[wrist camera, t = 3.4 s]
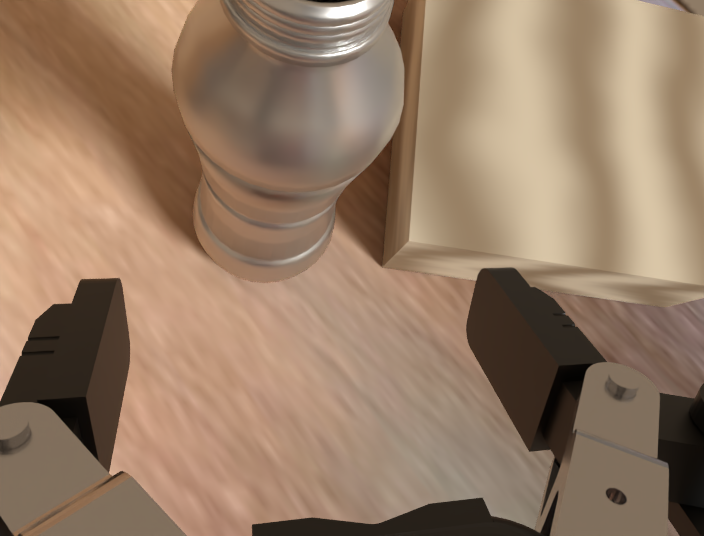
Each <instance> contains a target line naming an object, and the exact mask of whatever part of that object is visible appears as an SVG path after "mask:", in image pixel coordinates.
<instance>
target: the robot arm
mask: <svg viewBox="0 0 704 536" xmlns="http://www.w3.org/2000/svg"><path fill="white" fill-rule="evenodd" d="M466 331H467V339H468V343H469V346H470V348H471V350H472V352H473V353H474V355H475V357H476V359H477V360H478V362H479V364H480V366H481V367H482V369H483V371H484V373H485V374H486V376H487V378H488V380H489V382H490V383H491V385H492V387H493V389H494V390H495V392H496V394H497V396H498V397H499V399H500V401H501V403H502V404H503V406H504V408H505V410H506V411H507V413H508V415H509V417H510V418H511V420H512V422H513V424H514V425H515V427H516V429H517V431H518V433H519V434H520V436H521V438H522V440H523V441H524V443H525V445H526V447H527V448H528V450H529V452H530V451H540V450H550V449H551V451H552V452H553V454H554V458H553V461H552V463H551V466H550V470H549V474H548V478H547V482H546V486H545V490H544V494H543V498H542V502H541V506H540V510H539V514H538V518H537V522H536V526H535V530H533V529H531V528H529V527H527V526H524V525H522V524H519V523H516V522H513V521H511V520H507V519H503V518H498V517H493V516H491V515H490V513H489V511H488V509H487V506H486V504H485V502H484V500H483V498H476V499H467V500H459V501H450V502H441V503H433V504H428V505H425V506H423V507H420V508H418V509H415V510H413V511H410V512H408V513H405V514H402V515H400V516H397V517H395V518H392V519H390V520H387V521H384V522H382V523H379V524H364V523H355V522H346V521H338V520H329V519H320V518H305V519H296V520H288V521H279V522H271V523H262V524H253V525H252V536H668V519H669V520H670V522H671V523H672V525H673V526H674V528H675V529H676V531H677V532H678V534H679V535H680V536H704V384H703V385H702V386H701V387H700V389H699V391H698V393H697V395H696V397H695V399H693V398H687V397H681V396H675V395H669V394H663V393H659V392H658V389H657V388H656V386H655V385H654V384H653V383H652V382H651V381H650V380H649V379H648V378H647V377H646V376H644V375H643V374H641V373H640V372H638V371H636V370H634V369H632V368H630V367H627V366H625V365H621V364H617V363H610V362H607V361H606V360H605V359H604V358H603V357H602V355H601V354H600V353H599V352H598V351H597V349H596V348H595V347H594V346H593V345H592V344H591V342H590V341H589V340H588V339H587V338H586V336H585V335H584V334H583V333H582V332H581V331H580V329H579V328H578V327H575V324H574V322H573V321H572V320H571V319H570V318H569V316H566V315H565V312H564V311H563V309H562V308H561V307H560V306H559V305H558V303H557V302H556V301H555V300H554V299H553V298H551V297H550V296H548V295H547V294H545V293H544V292H542V291H541V290H539V289H538V288H536V287H530V285H529V284H528V283H527V282H526V280H525V279H524V278H523V277H522V276H521V274H520V273H519V272H518V271H517V270H516V269H515V268H513V267H505V268H483V269H481V270H480V272H479V273H478V276H477V280H476V284H475V288H474V293H473V297H472V302H471V306H470V310H469V315H468V319H467V326H466ZM129 363H130V339H129V331H128V324H127V317H126V310H125V303H124V295H123V288H122V283H121V280H120V279H119V278H110V279H82V280H81V281H80V282H79V285H78V288H77V290H76V293H75V296H74V299H73V301H72V304H53V305H52V306H51V307H50V308H49V309H48V310H47V311H45V312H44V313H43V314H42V315H41V316H40V317H39V318H37V319H36V320H35V323H34V325H33V327H32V330H31V332H30V334H29V337H28V341H26V343H25V346H24V348H23V350H22V356H20V357H19V360H18V362H17V364H16V366H15V369H14V371H13V373H12V376H11V378H10V380H9V383H8V385H7V387H6V390H5V392H4V394H3V396H2V399H1V401H0V536H186V535H185V533H184V532H183V531H182V530H181V529H180V528H179V527H178V526H177V525H176V524H175V523H174V522H173V520H172V519H171V518H170V517H169V516H168V515H167V514H166V513H165V512H164V511H163V510H162V509H161V507H160V506H159V505H158V504H157V503H156V502H155V501H154V500H153V499H152V498H151V497H150V496H149V495H148V493H147V492H146V491H145V490H144V489H143V488H142V487H141V486H140V485H139V484H138V483H137V482H136V480H135V479H134V478H133V477H132V476H130V475H129V474H128V473H126V472H123V471H120V472H119V473H117V474H115V475H114V476H112V475H110V474H109V470H110V465H111V459H112V454H113V449H114V443H115V438H116V433H117V428H118V422H119V417H120V412H121V407H122V401H123V396H124V391H125V385H126V380H127V375H128V370H129Z"/></svg>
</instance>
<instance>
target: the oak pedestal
mask: <svg viewBox="0 0 704 536" xmlns="http://www.w3.org/2000/svg"><path fill="white" fill-rule="evenodd" d="M400 49H401V54H402V59H403V63H404V105H403V109H402V113H401V117H400V122H399V124H398V126H397V128H396V130H395V132H394V134H393V140H392V152H391V164H390V177H389V189H388V201H387V214H386V226H385V238H384V250H383V263H382V267H384V268H391V269H398V270H405V271H412V272H419V273H426V274H433V275H440V276H447V277H454V278H461V279H468V280H475V281H476V280H477V276H478V273H479V272H480V270H481V269H483V268H505V267H513V268H515V269H516V270H517V271H518V272H519V273H520V274H521V276H522V277H523V278H524V279H525V280H526V282H527V283H528V284H529V285H530V287H536V288H538V289H539V290H545V291H552V292H559V293H566V294H573V295H581V296H588V297H595V298H602V299H609V300H616V301H623V302H630V303H637V304H644V305H651V306H658V307H669V306H673V305H677V304H681V303H685V302H689V301H693V300H697V299H701V298H704V16H700V15H696V14H692V13H688V12H684V11H679V10H675V9H671V8H667V7H663V6H658V5H654V4H650V3H646V2H641V1H637V0H408V2H407V4H406V7H405V9H404V11H403V17H402V29H401V41H400Z"/></svg>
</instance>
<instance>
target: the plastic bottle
mask: <svg viewBox="0 0 704 536" xmlns="http://www.w3.org/2000/svg"><path fill="white" fill-rule="evenodd" d="M393 4H394V0H198V1H197V3H196V4H195V6H194V7H193V9H192V10H191V11H190V13H189V14H188V16H187V19H186V21H185V24H184V26H183V29H182V31H181V34H180V36H179V39H178V41H177V44H176V47H175V49H174V55H173V62H172V79H173V89H174V93H175V96H176V100H177V103H178V107H179V110H180V113H181V116H182V119H183V121H184V124H185V126H186V128H187V130H188V133H189V135H190V137H191V139H192V141H193V143H194V145H195V147H196V150H197V152H198V154H199V157H200V162H201V166H202V171H203V173H202V178H201V180H200V183H199V185H198V188H197V191H196V195H195V199H194V205H193V223H194V229H195V232H196V235H197V237H198V240H199V242H200V243H201V245H202V247H203V248H204V250H205V252H206V253H207V254H208V255H209V256H210V257H211V258H212V259H213V260H214V261H215V262H216V263H217V264H218V265H219V266H220V267H221V268H223V269H224V270H225V271H227V272H228V273H230V274H232V275H234V276H236V277H238V278H240V279H244V280H248V281H251V282H260V283H270V282H278V281H282V280H285V279H289V278H291V277H294V276H296V275H298V274H299V273H301V272H303V271H305V270H307V269H308V268H309V267H311V266H312V265H313V264H314V263H316V262H317V261H318V259H319V258H320V257H321V256H322V255H323V253H324V252H325V250H326V248H327V246H328V245H329V243H330V240H331V237H332V233H333V229H334V223H335V209H336V207H335V205H336V201H337V199H338V197H339V196H340V195H341V193H342V192H343V190H344V189H345V187H346V186H347V185H348V184H349V183H351V182H352V181H353V180H354V179H355V178H356V177H357V176H358V175H359V174H360V173H361V172H362V171H364V170H365V169H366V168H367V167H368V166H369V165H370V164H371V163H372V162H373V161H374V159H375V158H376V157H377V156H378V155H379V153H380V152H381V151H382V150H383V148H384V147H385V146H386V144H387V143H388V142H389V141H390V140H391V138H392V136H393V134H394V132H395V130H396V128H397V126H398V124H399V122H400V117H401V113H402V109H403V105H404V63H403V59H402V54H401V49H400V47H399V45H398V42H397V40H396V37H395V35H394V33H393V31H392V29H391V27H390V26H389V24H388V21H389V18H390V16H391V12H392V8H393Z"/></svg>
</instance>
